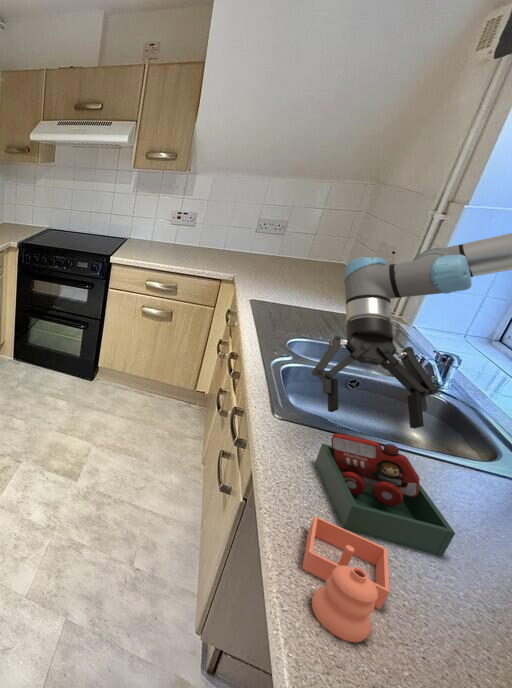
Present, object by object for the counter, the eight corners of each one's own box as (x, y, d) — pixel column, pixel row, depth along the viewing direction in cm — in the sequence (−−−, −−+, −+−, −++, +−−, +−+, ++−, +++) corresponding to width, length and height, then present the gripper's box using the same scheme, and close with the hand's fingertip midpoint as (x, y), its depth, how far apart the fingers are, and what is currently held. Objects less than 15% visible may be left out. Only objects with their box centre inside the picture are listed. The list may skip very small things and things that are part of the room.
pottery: (307, 533, 72) (324, 490, 69) (378, 567, 67) (400, 522, 63) (293, 615, 59) (313, 567, 56) (379, 666, 54) (408, 616, 50)
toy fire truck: (416, 514, 72) (417, 460, 71) (327, 488, 82) (327, 440, 80) (420, 494, 77) (421, 443, 75) (336, 471, 86) (335, 425, 84)
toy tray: (393, 484, 84) (404, 461, 82) (441, 558, 68) (455, 533, 66) (313, 465, 88) (322, 443, 86) (342, 530, 73) (352, 505, 71)
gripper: (430, 339, 90) (441, 437, 82) (295, 320, 98) (294, 407, 90) (454, 325, 83) (469, 431, 75) (308, 307, 92) (307, 399, 84)
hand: (373, 418), depth 83 cm, fingers open, 13 cm apart
